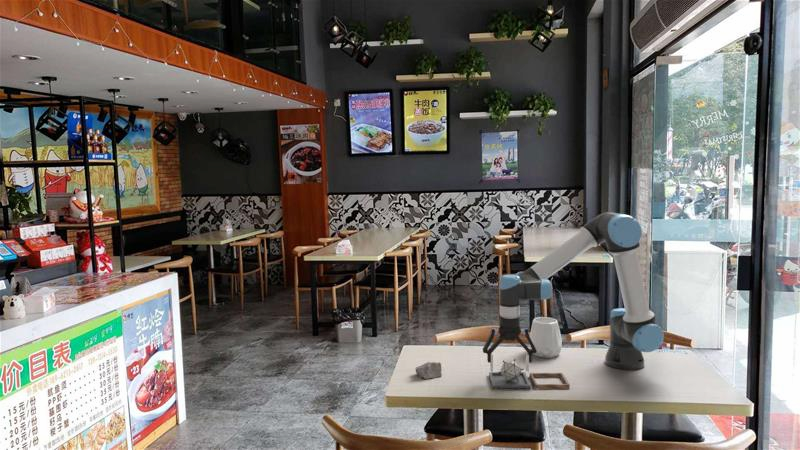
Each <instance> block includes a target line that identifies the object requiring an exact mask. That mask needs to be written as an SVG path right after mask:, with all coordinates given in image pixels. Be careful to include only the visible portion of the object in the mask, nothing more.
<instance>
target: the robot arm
mask: <svg viewBox="0 0 800 450" xmlns="http://www.w3.org/2000/svg"><path fill="white" fill-rule="evenodd" d="M642 236H643V229H642V226H641V224H640V222H639V221H638V220H637V219H636V218H634V217H633V216H631V215H628V214H626V213H625V214H624V213H618V212H612V211H607V212H603V213H600V214H598V215H597V216H595V217H593V219H591V220H590V221H588V222H587V223H585V224H584V225H582V226H581V227H580V229H579V232H577V233H576V234H574V235H572V237H570V238H569V239H568V240H566V241H565V242H564V243H562V244H561V245H558V247H556V249H554V250H553V251H551V252H550V253H548V254H547V255H545V256H544V257H543V258H541V259H540V260H539V261H537V262H535V264H533V265H532V266H531V267H529V268H528V269H526V270H524V271H518V272H517V273H515V274H509V273H508V274H504V275H501V276H500V278H499V287H498V288H499V315H500V316H499V326H498V328H495V327H491V328H490V334H489V336H488V338H487V340H486V342H485V343H484V346H483V348H482V353H483V354H486V355H487V356H486V357H487V363H490V364H489V367H490V368H489V369H490V370H489V371H490V372H494V355H493V352H494V351H495V350H496V349H497V348H498V346H499V345H500V344H501V343H502V342H503V341H506V342H507V341H511V342H512V341H513V342H514V341H517V343H519V344H520V346H522V348H523V349H524V350H525V351H526V352H525V371H526V372H527V373H530V363H531V364H532V360H533V353H536V352H537V351H536V349H535V347H534V345H533V343H532V341H531V339H530V337H529V336H530V333H529V329H528V327H524V328H521V327H520V325H521V324H520V323H521V322H520V321H521V318H520V315H521V314H520V313H521V312H520V311H521V310H520V308H521V307H520V306H521V301H537V300H538V301H539V300H542V301H543V300H549V299H550V298H551V297H552V294H553V285H552V282H551V281H550V280H549V278H550V277H552V276H553V275H554V274H556V273H557V272H559V271H560V270H561V269H563V268H564V267H566V266H567V265H568V264H570V263H571V262H573V261H574V260H576V259H577V258H578V257H579V256H581V255H582V254H583V253H586V251H588V250H589V249H591V248H592V247H594V248H597V246H599V245H600V244H603V243H605V244H606V249H607V252H608V254H610V255H612V257H613V262H614V265H615V266H614V267H615V270H616V275H617V279H618V284H619V287H620V292H621V297H622V302H623V306H624V308H623V307H621V308H620V307H619V308H614V309H612V310H611V311H610V317H609V319H610V323H609V324H610V326H609V329H610V330H609V335H610V336H609V346H608V349H607V351H606V354H605V359H604V360H605V361H604V363H605V364H606V365H607V366H609V367H612V368H615V369H621V370H627V371H628V370H630V371H632V370H633V371H634V370H640V369H642V368H644V367H645V358H644V355H643V353H651V352H652V353H653V352H655V351H657V349H659V348H660V346H661V345H663V343H664V338H665V333H664V330H663V329H662V327H661V326H660V325H658V324H657V321H656V316H655V313H654V312H653V311H652V310H650V307H649V303H648V299H647V294H646V289H645V286H644V285H645V284H644V280H643V275H642V271H641V269H642V268H641V265H640V261H639V256H638V250H639V249H640V247H641V245H640V241H641V240H640V239H641V238H642ZM497 334H499V336H498V337H497V339H496V340H495V341H494V342H493V344H492V345H491V343H492V341H493V340H494V337H495V336H496V335H497ZM520 334H523V335H524V336H525V338H526V340H527V342H528V344H530V346H531V348H532V349H531V350H530V346H527V344H526V343H525V341H523V340H522V338H521V337H520Z"/></svg>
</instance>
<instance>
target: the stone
mask: <svg viewBox="0 0 800 450" xmlns="http://www.w3.org/2000/svg"><path fill="white" fill-rule="evenodd" d="M415 373H416V375H418V376H419V377H420V378H422V379H424V380H428V379H435V378H438V377H439V378H440V377H442V375H443V373H442V363H441V362H436V361H433V362H431V361H428V362H426V363H424V364H421V365H420V366H417V367H415Z"/></svg>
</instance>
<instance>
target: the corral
mask: <svg viewBox="0 0 800 450" xmlns="http://www.w3.org/2000/svg"><path fill="white" fill-rule="evenodd" d="M529 378H530V381H531V383H532V384H533V386H534V389H537V390H538V389H539V390H540V389H541V390H544V389H545V390H546V389H547V390H548V389H550V390H552V389H553V390H555V389H556V390H564V389H565V390H568V389H570V388H571V386H570V383H569V382H568V380H567V378H566V377H565V375H564V373H563V372H529ZM535 378H560V379H561V381H562V382H563V383H537V381H536V379H535Z"/></svg>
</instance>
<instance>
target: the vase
mask: <svg viewBox="0 0 800 450" xmlns="http://www.w3.org/2000/svg"><path fill="white" fill-rule="evenodd" d="M559 326H560V325H559V322H558V319H556V318H554V317H547V316H546V317H545V316H540V317H534V318H533V320H532V323H531V328H530V333H529V337H530V339H531V341H532V343H533V345H534V347H535V349H536V351H537V352H536V353H533V354H532V356H536V357H539V358H547V359H549V358H554V357H557V356H559V355H560V353H561V351H562V346H563V345H562V343H563V342H562V341H563V340H562V336H561V330H560V327H559ZM528 344H529V343H528ZM528 347H529V349H530V350H531V349H532V348H531V346H530V344H529V346H528Z"/></svg>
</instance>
